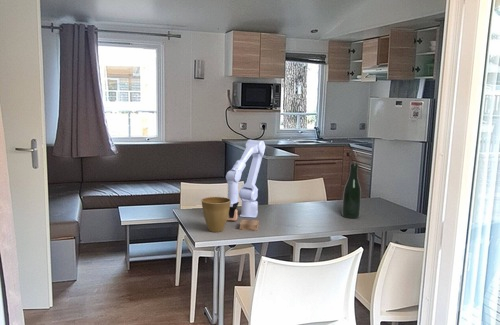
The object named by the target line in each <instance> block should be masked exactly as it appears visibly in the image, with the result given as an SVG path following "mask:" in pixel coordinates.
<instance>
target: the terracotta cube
mask: <svg viewBox="0 0 500 325" xmlns="http://www.w3.org/2000/svg"><path fill="white" fill-rule="evenodd" d="M237 220H238V209H235V213H234V217H233V218H230V217H229V213H228V217H227V221H237Z"/></svg>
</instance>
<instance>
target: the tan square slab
mask: <svg viewBox="0 0 500 325" xmlns="http://www.w3.org/2000/svg"><path fill="white" fill-rule="evenodd" d="M259 224H260V220H257V219H241V220H240V222H239V230H240V229H242V230H241V231H243V230H244V231H253V230H254V231H253V232H255V231H256V232H257V231H258V228H259V226H260V225H259Z"/></svg>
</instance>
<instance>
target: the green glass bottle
mask: <svg viewBox="0 0 500 325" xmlns="http://www.w3.org/2000/svg"><path fill="white" fill-rule="evenodd" d="M349 165H350V168H349V176H348V179H347V181H346V184H345V186H344V189H343V196H342V204H341V205H342V208H341V215H342V216H341V217H343V218H347V219H359V218H360V216H361V202H362V188H361V184H360V181H359V177H358V173H359V172H358V169H359V163H358V161H355V160H353V161H351V162H350V164H349Z"/></svg>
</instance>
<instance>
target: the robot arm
mask: <svg viewBox="0 0 500 325" xmlns="http://www.w3.org/2000/svg"><path fill="white" fill-rule="evenodd" d="M265 150H266V144H265V141H264V140H256V139H247V141H246V143H245V149H244V151H243V153H242V155H241V157H240V159H237V160H236V161H235V163H234V164H233V166H232V168H231V169H230V170H228V171H227V172H226V175H225V179H226V183H227V198H229V199H230V200H231V203H230V209H229V217H230V218H233V217H234V213H235V209H237V208H238V206H239V203H240V202H239V199H240V201H241V210H240V211H241V212H240V214H239V217H242V218H243V217H244V218H256V219H257V217H258V214H259V211H258V210H259V209H258V208H259V207H258V206H259V201H257V199H258V196H259V195H258V194H259V193H258V191H259V188H258V187H257V185H256V183H257V179H258V175H259V171H260V168H261V164H262V160H263V157H264V154H265ZM250 157H252V160H251V162H250V168H249V172H248V175H247V179H246V182H245V183H243V184H242V185H241V188H240V190H239V182H240V181H241V178H242V174H243V171H244V170H245V168H246V166H247V164H246V163H247V161H248V160H249V159H250Z"/></svg>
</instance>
